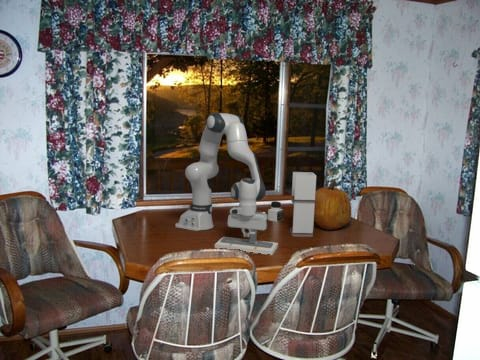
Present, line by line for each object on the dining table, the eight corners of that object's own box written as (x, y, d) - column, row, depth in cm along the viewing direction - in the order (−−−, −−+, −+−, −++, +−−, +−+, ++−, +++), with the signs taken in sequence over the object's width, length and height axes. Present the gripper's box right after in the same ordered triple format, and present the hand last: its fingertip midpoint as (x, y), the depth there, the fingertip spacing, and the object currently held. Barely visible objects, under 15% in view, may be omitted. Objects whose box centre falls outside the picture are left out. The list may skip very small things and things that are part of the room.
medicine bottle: (276, 222, 282) (277, 203, 280) (267, 220, 286) (268, 201, 284) (282, 220, 288) (283, 201, 285) (273, 218, 292) (274, 200, 290)
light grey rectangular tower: (309, 231, 264) (312, 172, 258) (312, 236, 254) (316, 175, 248) (289, 230, 264) (292, 172, 258) (292, 236, 253) (295, 175, 247)
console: (214, 248, 229) (214, 242, 229) (223, 240, 242) (223, 234, 242) (272, 255, 221) (272, 249, 221) (277, 246, 234) (278, 241, 234)
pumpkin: (322, 219, 291) (325, 174, 286) (355, 226, 277) (359, 179, 272) (301, 227, 271) (304, 178, 266) (335, 235, 257) (338, 184, 252)
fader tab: (248, 245, 229) (248, 232, 227) (250, 242, 233) (251, 229, 232) (255, 246, 228) (256, 233, 226) (258, 243, 232) (258, 230, 231)
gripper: (268, 210, 228) (267, 237, 231) (230, 207, 234) (229, 232, 236) (266, 213, 222) (265, 240, 225) (226, 209, 228) (226, 236, 230)
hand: (246, 236), depth 231 cm, fingers closed
